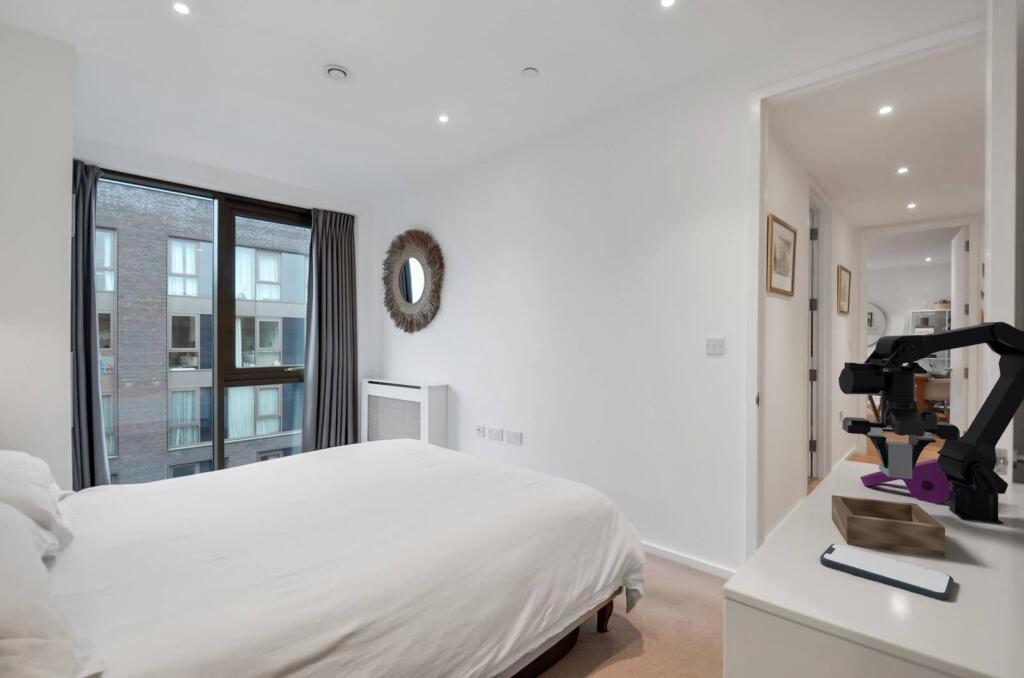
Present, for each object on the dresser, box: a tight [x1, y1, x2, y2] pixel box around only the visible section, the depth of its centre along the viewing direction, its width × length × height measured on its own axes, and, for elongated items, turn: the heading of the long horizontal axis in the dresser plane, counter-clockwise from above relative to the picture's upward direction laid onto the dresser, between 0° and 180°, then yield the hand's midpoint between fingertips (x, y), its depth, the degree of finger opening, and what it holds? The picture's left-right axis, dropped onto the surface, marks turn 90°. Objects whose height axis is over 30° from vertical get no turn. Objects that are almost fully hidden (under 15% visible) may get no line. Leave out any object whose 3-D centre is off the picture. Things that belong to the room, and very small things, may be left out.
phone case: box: [819, 543, 954, 602], centre depth 77 cm, size 9×2×16 cm
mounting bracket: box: [859, 458, 956, 505], centre depth 117 cm, size 9×8×18 cm
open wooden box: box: [831, 494, 946, 558], centre depth 91 cm, size 14×13×5 cm
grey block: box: [878, 440, 912, 479], centre depth 104 cm, size 4×6×7 cm, turn 157°
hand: (897, 468), depth 102 cm, fingers closed on grey block, 4 cm apart
